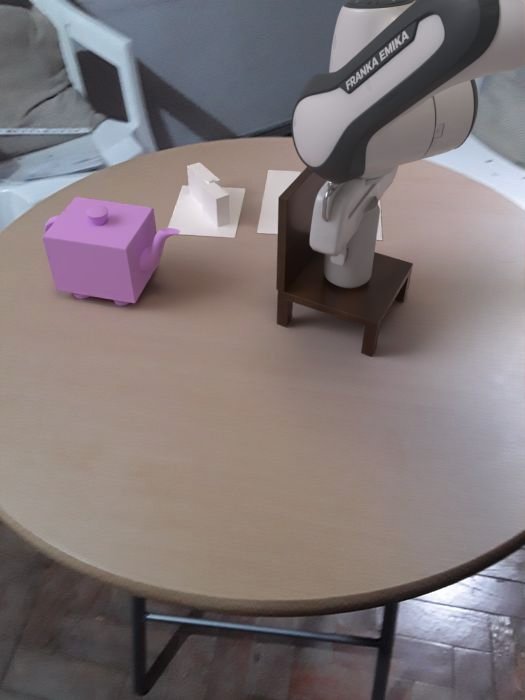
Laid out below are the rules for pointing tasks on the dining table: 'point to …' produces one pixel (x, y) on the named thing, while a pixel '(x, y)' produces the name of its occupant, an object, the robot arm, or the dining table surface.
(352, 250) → the beverage can
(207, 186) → the napkin holder
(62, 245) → the teapot
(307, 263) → the wooden doll chair
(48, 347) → the dining table surface
